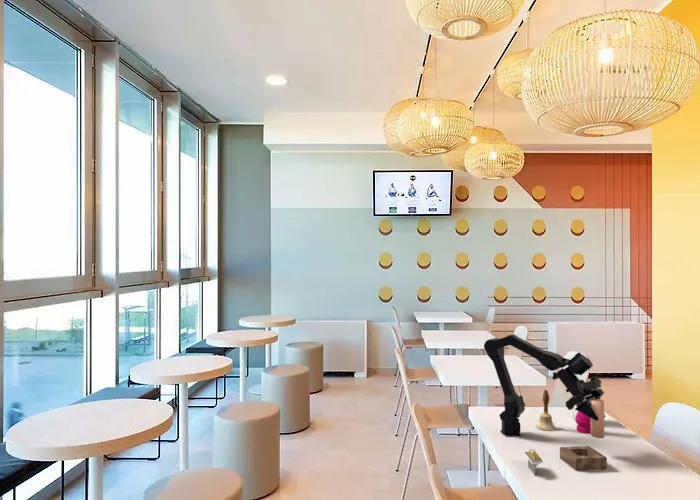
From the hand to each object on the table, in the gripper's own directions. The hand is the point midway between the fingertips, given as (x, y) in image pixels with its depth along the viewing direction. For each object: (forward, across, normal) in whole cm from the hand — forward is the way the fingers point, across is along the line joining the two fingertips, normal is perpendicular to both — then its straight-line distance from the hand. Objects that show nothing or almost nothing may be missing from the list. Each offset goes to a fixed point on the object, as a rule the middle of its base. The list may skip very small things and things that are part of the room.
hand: (601, 418), depth 189 cm
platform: (+5, -31, +15) cm, 35 cm away
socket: (+9, -12, +10) cm, 18 cm away
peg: (+4, 0, +6) cm, 7 cm away
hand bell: (-12, +14, +31) cm, 36 cm away
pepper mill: (-3, +22, +22) cm, 32 cm away
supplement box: (-7, +34, +27) cm, 44 cm away
